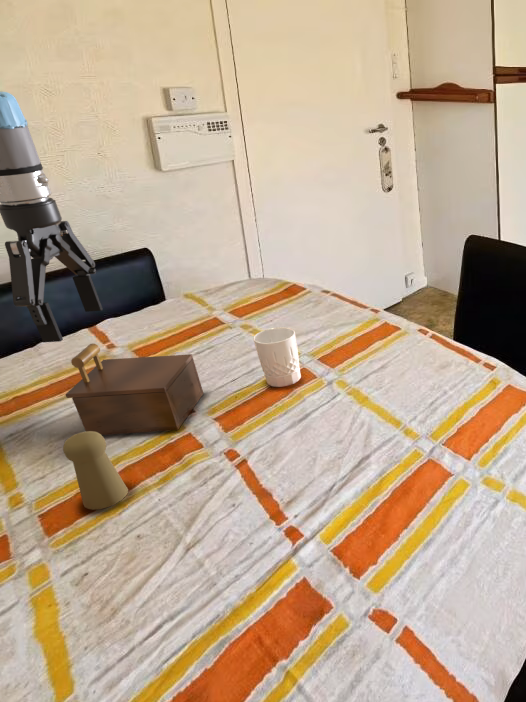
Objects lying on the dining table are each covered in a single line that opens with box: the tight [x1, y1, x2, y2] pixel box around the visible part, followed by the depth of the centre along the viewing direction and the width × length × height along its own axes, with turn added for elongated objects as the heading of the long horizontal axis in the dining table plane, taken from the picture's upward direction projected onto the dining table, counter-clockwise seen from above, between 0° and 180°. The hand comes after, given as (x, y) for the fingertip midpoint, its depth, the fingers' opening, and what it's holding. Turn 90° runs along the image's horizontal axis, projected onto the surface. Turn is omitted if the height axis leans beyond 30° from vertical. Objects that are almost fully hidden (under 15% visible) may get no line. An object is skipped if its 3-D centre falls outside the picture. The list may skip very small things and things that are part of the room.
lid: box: [65, 343, 194, 399], centre depth 112 cm, size 16×14×6 cm
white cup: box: [253, 326, 302, 388], centre depth 126 cm, size 8×8×10 cm
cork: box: [62, 431, 129, 511], centre depth 93 cm, size 6×6×11 cm
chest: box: [71, 357, 204, 436], centre depth 116 cm, size 16×14×8 cm
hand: (74, 325), depth 108 cm, fingers open, 13 cm apart
